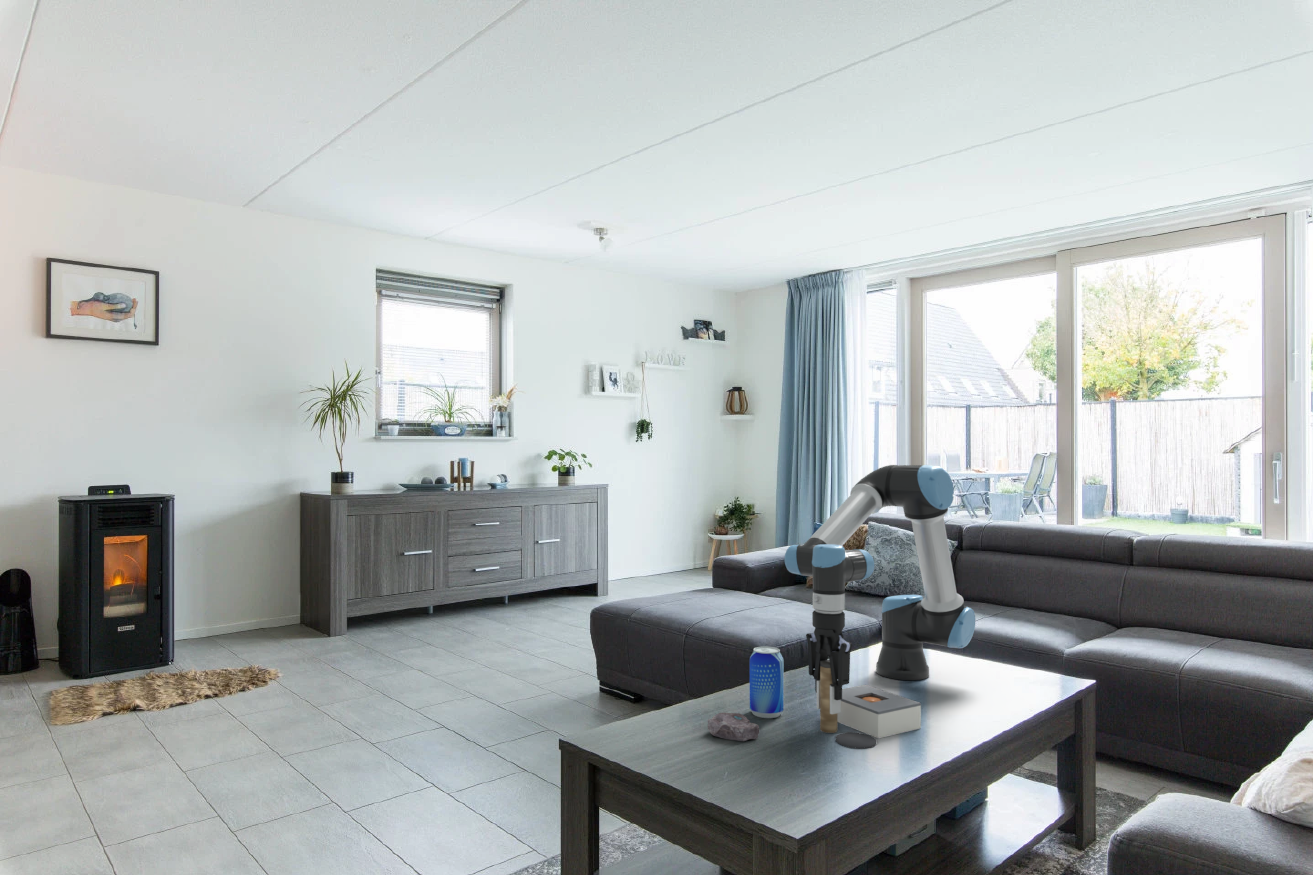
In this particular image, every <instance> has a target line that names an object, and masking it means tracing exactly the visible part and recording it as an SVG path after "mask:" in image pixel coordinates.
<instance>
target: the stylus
mask: <svg viewBox="0 0 1313 875" xmlns="http://www.w3.org/2000/svg"><path fill="white" fill-rule="evenodd" d="M837 680H838V679H837ZM830 684H832V676H831V669H830V661H829V659H827V660H821V661H820V709H819V730H820V732H822V733H827V734H835V733H837V732H838V722H837V713H836V714H830Z"/></svg>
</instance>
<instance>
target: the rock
mask: <svg viewBox="0 0 1313 875" xmlns="http://www.w3.org/2000/svg"><path fill="white" fill-rule="evenodd" d="M707 730H708V731H709V734H711V735H712V736H714V737H715V738H716V737H717V738H720V739H725V740H731V741H737V742H746V741H748V740H757V739H758V738H759V735H760V725H758V724H756V723H753V722H750V719H748V718H747V716H745V715H743V714H741V713H739V712H738V713H737V712H718V713H717V714H715V715H714V716H713V717H712V718H711V719H709V718H708V719H707Z"/></svg>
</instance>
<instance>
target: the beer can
mask: <svg viewBox="0 0 1313 875" xmlns="http://www.w3.org/2000/svg"><path fill="white" fill-rule="evenodd" d="M780 651H781V650H780V648H777V647H773V646H758V647H754V648H753V652H752V653H751V655H750V657H749V710H750V711H751V712H752V715H753V716H754V717H758V718H763V719H773V718H778V717H780V716H781V714H782V712H783V711H784V679H785V678H784V677H785V676H784V667H785V666H784V662H785V661H784V657H783V655H782V653H781V652H780Z"/></svg>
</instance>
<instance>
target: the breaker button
mask: <svg viewBox="0 0 1313 875" xmlns="http://www.w3.org/2000/svg"><path fill="white" fill-rule="evenodd" d="M862 699H863V700H866V701H869V702H877V701H881V700H880V699H879V698H875V697H864V698H862Z"/></svg>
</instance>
